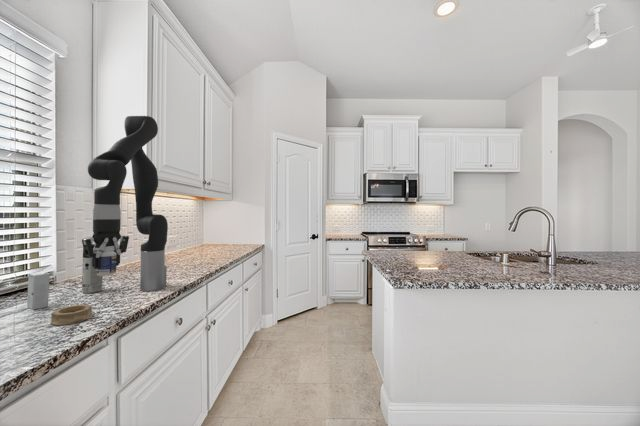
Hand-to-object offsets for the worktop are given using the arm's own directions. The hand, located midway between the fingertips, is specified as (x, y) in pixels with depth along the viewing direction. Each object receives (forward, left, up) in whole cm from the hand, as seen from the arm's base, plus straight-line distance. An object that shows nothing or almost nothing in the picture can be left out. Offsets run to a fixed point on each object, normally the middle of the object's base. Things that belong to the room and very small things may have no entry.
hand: (106, 266), depth 95 cm
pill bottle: (0, 0, -3) cm, 3 cm away
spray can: (-13, -30, -16) cm, 37 cm away
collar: (+8, -3, -16) cm, 18 cm away
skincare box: (+6, -27, -16) cm, 32 cm away
